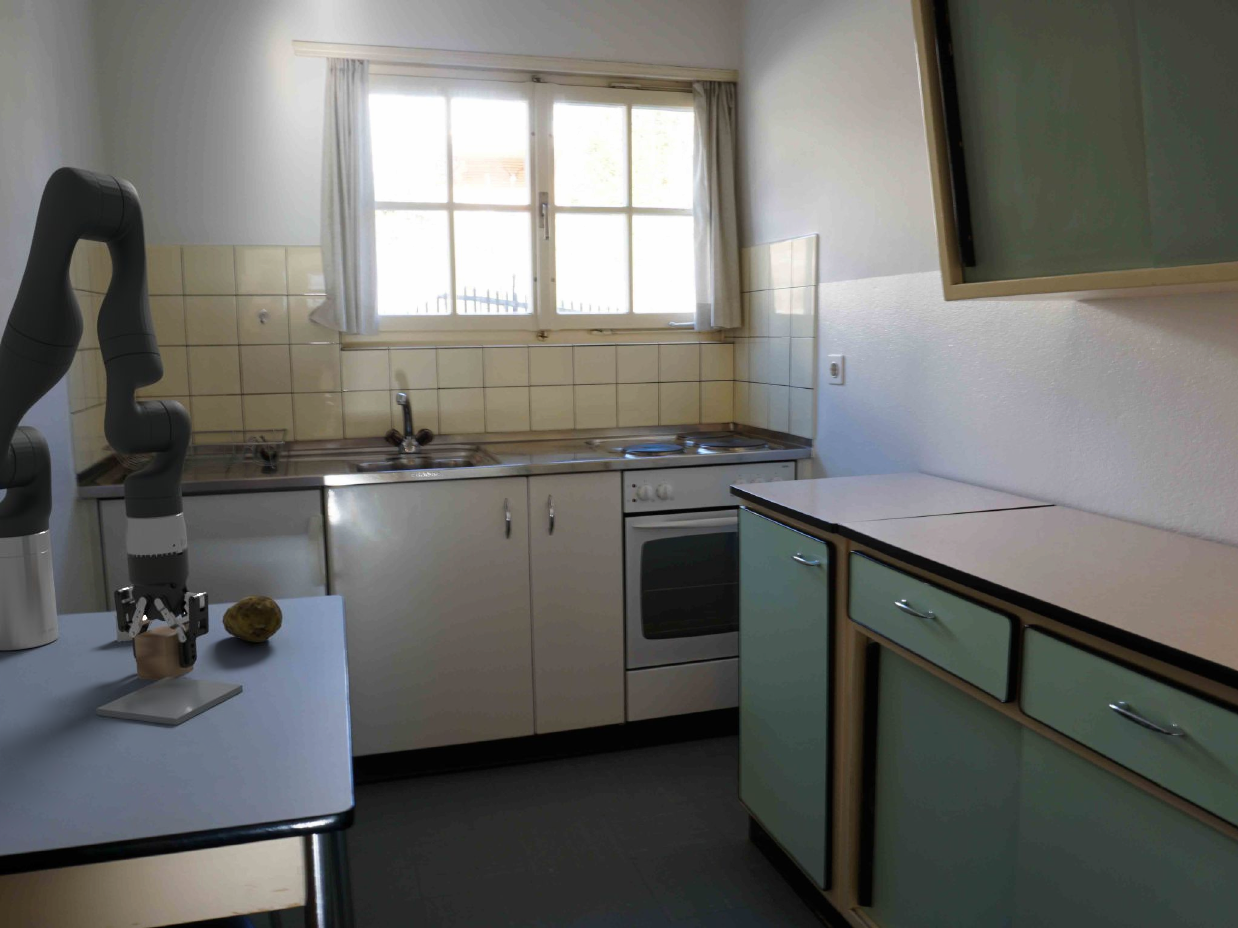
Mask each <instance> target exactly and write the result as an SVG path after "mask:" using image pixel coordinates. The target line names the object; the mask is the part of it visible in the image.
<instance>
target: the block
mask: <svg viewBox="0 0 1238 928" xmlns="http://www.w3.org/2000/svg"><path fill="white" fill-rule="evenodd" d="M183 628H184V630H185V631H186V632H187V630H186V629H185V627H183ZM134 637H135V650H136V659H135V663H136V672H137V673H136V674H137V675H136V676H137V678H138V679H142V680H143V679H144V680H151V681H152V680H153V681H159V680H161V679H164V678H166V677H174V678H179V677H180V676H182V675H185V674H187V673H189V672H190V671H193V670H194V665H192V666H190V667H188V668H181V667H180V663H179V649H178V642H181V641H180V640H179V639H178V637H177V635H176V633H175V631H174V630H173V629H171V628H169V626H168V625H159V626H157V627H154V628H150V629H149V631H146V632H143V633H141V634H138V635H136V636H134Z"/></svg>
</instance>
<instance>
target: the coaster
mask: <svg viewBox="0 0 1238 928" xmlns="http://www.w3.org/2000/svg"><path fill="white" fill-rule="evenodd" d="M243 688H244V687H243V685H242V684H237V683H227V682H217V681H210V680H209V681H208V680H201V679H191V678H183V677H176V678H174V677H166V678H164V679H161V680H156V681H154V682H153V683H152V682H151V684H148V685H146V686H144V687H142V688H139V689H137V690H135V691H133V692H130V693H128V694H125V695H124V696H122V697H120V698H117V699H115V700H113V701H110V702H108V703H106V704H104V705H101V706H99V707H97V708H96V716H103V717H110V718H112V717H113V718H117V719H127V720H132V721H133V720H135V721H143V722H150V723H157V724H167V725H174V726H178V725H179V724H182V723H183V722H185V721H188V720H190V719H191V718H194V717H195V716H197V715H199V714H202V713H203V712H204V711H207V710H208V709H211V708H212V707H214V706H217V705H219V704H220V703H222V702H224V701H225V700H228V699H229V698H232V697H234V696H236V695H238V694H240V693H242V692H243V691H244V689H243Z"/></svg>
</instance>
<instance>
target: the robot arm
mask: <svg viewBox="0 0 1238 928" xmlns="http://www.w3.org/2000/svg"><path fill="white" fill-rule="evenodd" d="M142 206H143V205H142V203H141V199H140V196H139V194H138V191H137V189H136V187H135V186H134V185H133V184H132V183H131V182H129V181H128V180H126V179H124V178H122V177H120V176H119V177H118V176H115V175H112V174H105V173H101V172H96V171H90V170H87V169H83V168H77V167H72V166H63V167H60V168H57V169H55V171H53V172H52V174H51V175H50V177H48V180H47V182H46V184H45V186H44V189H43V192H42V195H41V198H40V203H39V208H38V212H37V216H36V220H35V227H34V231H33V236H32V239H31V244H30V248H29V253H28V258H27V261H26V265H25V268H24V272H23V275H22V277H21V282H20V285H19V287H18V291H17V294H16V296H15V299H14V302H13V304H12V307H11V310H10V314H9V316H8V318H7V320H6V321H7V322H6V325H5V328H4V330H3V334H2V337H1V340H0V490H6V493H5V496H4V497H3V499H2V500H1V501H0V651H16V650H17V651H18V650H25V649H30V648H36V647H40V646H44V645H47V644H49V643H52V642H54V641H56V640H57V639H58V638H59V628H58V625H59V624H58V615H57V601H56V592H55V591H56V590H55V579H54V569H53V568H54V567H53V566H54V565H53V557H52V556H53V555H52V554H53V553H52V544H51V534H50V517H51V514H52V509H53V495H52V494H53V492H52V491H53V490H52V489H53V488H52V487H53V485H52V460H51V459H52V458H51V451H50V447H49V445H48V442H47V440H46V438H45V436H44V434H42V432H41V431H40V430H39V429H37V428H36V427H33V426H31V425H19V424H20V423H21V421H22V419H23V418H24V416H25V415H26V414H27V412H29V410H30V409H32V408H33V407H34V405H36V403H38V402H39V400H41V399H42V398H43V397H44V396H45V395H46V394H47V393H48V392H50V391H51V390H52V389H53V388H54V387H55V386H56V385H57V384H58V383H60V381H61V380H62V379H63V378H64V377H65V376H66V374H67V372H68V371H69V370H70V369H71V366H72V364H73V362H74V359H75V357H76V353H77V351H78V348H79V345H80V343H81V339H82V337H83V334H84V319H83V314H82V311H81V306H80V304H79V302H78V298H77V296H76V293H75V290H74V288H73V285H72V280H71V276H70V275H71V274H70V271H71V270H70V269H71V264H72V260H73V259H72V258H73V254H74V251H75V248H76V245H77V244H78V242H79V240H85V241H91V242H99V243H105V244H106V246H107V248H108V252H109V255H110V259H111V266H112V267H111V269H112V272H111V278H110V281H109V285H108V288H107V291H106V293H105V296H104V297H103V299H102V303H101V305H100V307H99V312H98V314H97V321H96V332H97V339H98V344H99V348H100V352H101V353H100V354H101V357H102V362H103V365H104V369H105V376H106V392H105V393H106V397H105V399H106V400H105V410H104V419H103V432H104V436H105V438H106V441H107V443H108V444H109V446H110V447H111V449H113V450H114V451H115V452H116V453H118V454H120V455H124V456H133V455H134V456H135V455H142V454H152V453H155V456H154V458H153V461H152V462H151V464H150V465H149V466H147V467H146V468H142V469H140V470H138V471H135V472H132V473H129V474H128V475H127V476H126V477H125V479H124V483H123V489H124V490H123V491H124V503H125V516H126V517H125V518H126V521H125V522H126V523H125V544H126V546H125V548H126V559H127V572H128V574H127V575H128V581H129V583H131V585H133V586H131V585H130V586H129V585H128V586H126V587H122V588H118V589H116V590H115V591H113V596H114V603H115V613H116V614H117V622H118V629H119V631H120V632H124V631H125V632H127V633H129V635H130V636H131V637H132V640H131V641H132V653H133V658H134V659H135V660H136V650H135V637H134V636H136V635H138V634H141V633H143V632H146V631H149V630H151V626H152V625H153V622H154V621H155V620H159V621H160V622H165V623H166V624H167V626H169V628H171V629H173V630H174V631H175V633H176V635H177V637H178V639H179V640H180V641H181V642H178V649H179V663H180V667H181V668H188V667H190V666H192V665H193V666H194V665H195V664H196V662H197V658H198V656H197V652H198V651H197V638H199V637H201V636H204V635H207V634H208V633H209V630H210V628H209V627H210V623H209V622H210V620H209V619H210V618H209V594H208V593H207V592H206V591H202V592H198V593H196V592H190V590H189V588H188V585H187V580H188V578H189V576H190V565H189V552H188V551H189V550H188V535H187V526H186V521H185V518H184V517H185V516H184V510H183V509H184V508H183V495H182V494H183V493H182V482H183V480H182V478H183V475H184V470H185V469H184V468H185V465H186V464H185V463H186V459H187V454H188V450H189V446H190V443H191V442H190V441H191V437H192V420H191V418H190V413H188V411H187V409H186V408H185V406H184V405H183V404H181V403H180V402H179V401H177V400H175V399H159V400H140V401H139V400H138V401H136V397H135V396H136V395H135V393H136V390H138V389H141V388H146V387H149V386H152V385H154V384H156V383H158V382H159V381H161V380H162V379H163V377H164V365H163V362H162V357H161V353H160V348H159V344H158V339H157V335H156V332H155V327H154V323H153V319H152V318H153V317H152V312H151V304H150V296H149V295H150V294H149V282H148V281H149V280H148V262H147V260H148V258H147V247H146V245H147V244H146V235H145V234H146V232H145V221H144V213H143V207H142ZM136 605H137V609H136ZM127 613H128V620H129V621H127V618H126V614H127ZM179 616H181V618H178V617H179ZM184 628H185V629H186V630H187V632H186V631H185V630H184Z"/></svg>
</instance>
